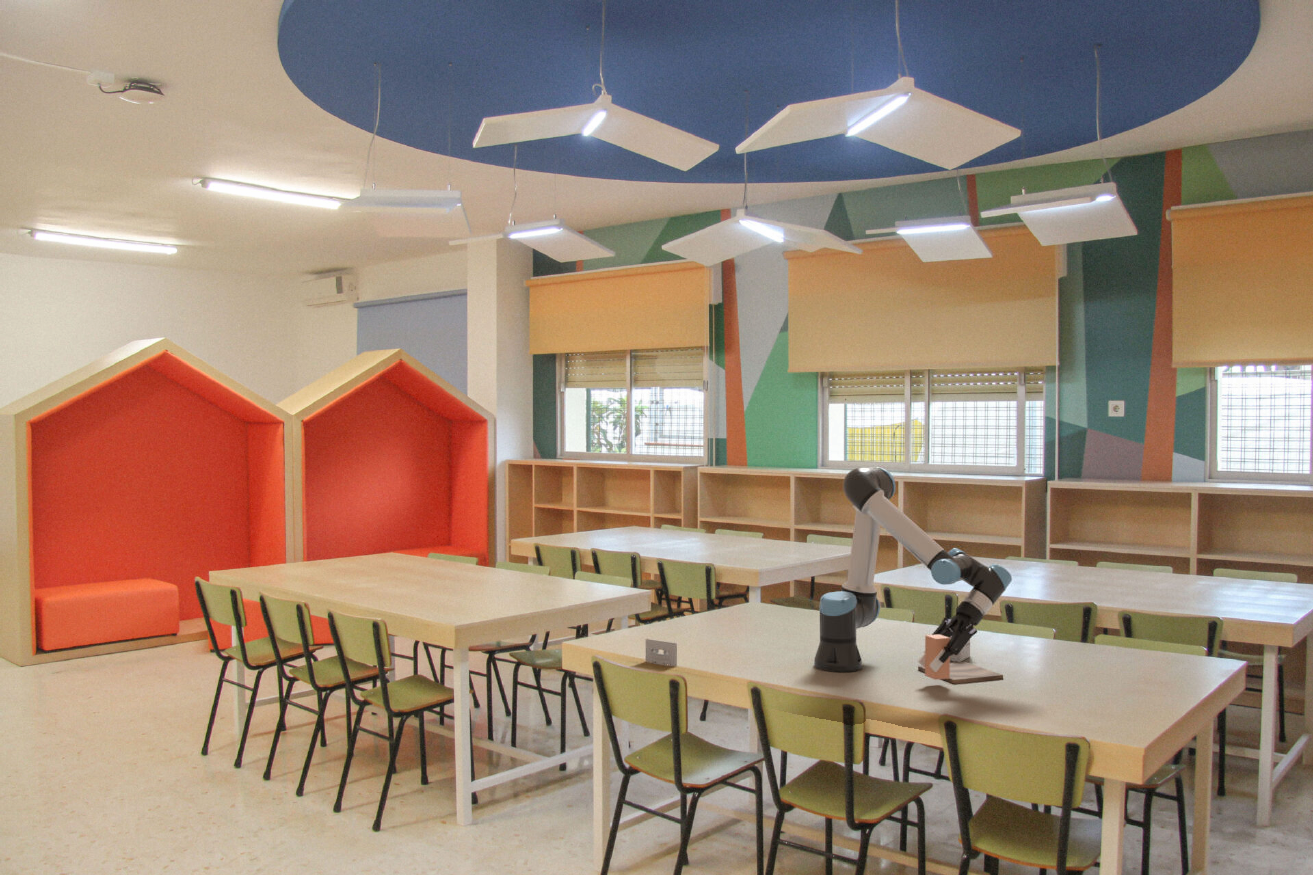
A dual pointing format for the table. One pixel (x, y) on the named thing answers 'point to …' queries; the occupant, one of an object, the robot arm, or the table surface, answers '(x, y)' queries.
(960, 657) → the light bulb box
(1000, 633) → the table surface
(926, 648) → the terracotta block
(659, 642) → the cassette
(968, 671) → the walnut board
